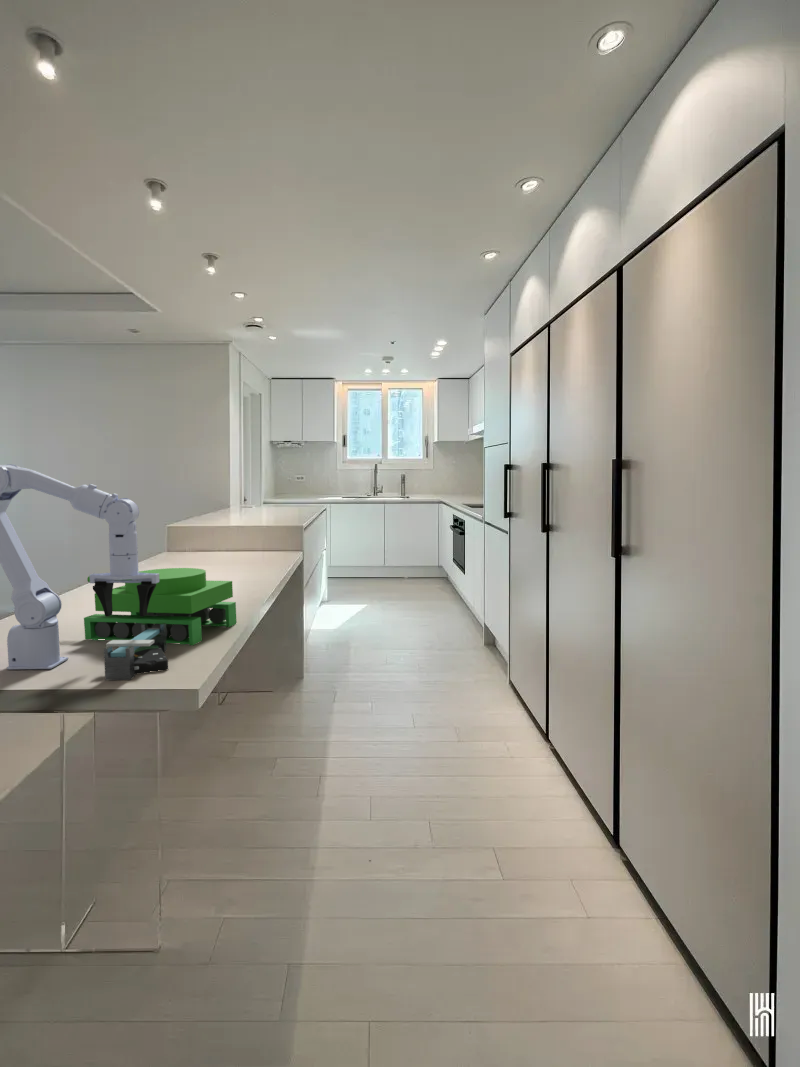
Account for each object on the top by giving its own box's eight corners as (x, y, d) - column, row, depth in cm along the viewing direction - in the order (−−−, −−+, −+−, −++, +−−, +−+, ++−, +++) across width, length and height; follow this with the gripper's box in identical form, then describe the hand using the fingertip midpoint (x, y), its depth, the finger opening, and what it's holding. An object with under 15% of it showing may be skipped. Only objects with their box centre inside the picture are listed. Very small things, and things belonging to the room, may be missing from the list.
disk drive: (169, 672, 141) (159, 654, 154) (169, 659, 140) (159, 642, 154) (116, 679, 136) (110, 660, 149) (116, 666, 136) (110, 648, 149)
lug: (104, 680, 134) (103, 648, 133) (109, 676, 136) (108, 645, 135) (130, 679, 134) (129, 648, 133) (135, 676, 136) (134, 645, 136)
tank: (125, 620, 191) (121, 564, 190) (237, 624, 184) (235, 566, 182) (66, 642, 167) (61, 578, 166) (192, 646, 160) (189, 580, 159)
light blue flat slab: (95, 657, 134) (95, 650, 134) (135, 632, 155) (135, 625, 155) (140, 657, 134) (140, 649, 134) (174, 632, 155) (174, 625, 155)
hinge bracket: (142, 652, 154) (141, 624, 153) (144, 650, 156) (143, 623, 155) (164, 652, 154) (163, 624, 153) (167, 650, 156) (166, 622, 155)
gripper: (81, 556, 141) (84, 619, 142) (150, 556, 141) (152, 619, 142) (97, 552, 148) (99, 612, 149) (162, 552, 148) (163, 612, 149)
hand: (126, 615), depth 146 cm, fingers open, 7 cm apart
